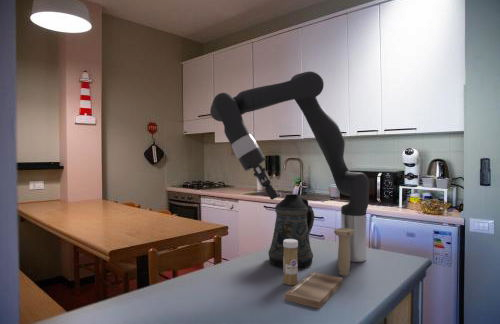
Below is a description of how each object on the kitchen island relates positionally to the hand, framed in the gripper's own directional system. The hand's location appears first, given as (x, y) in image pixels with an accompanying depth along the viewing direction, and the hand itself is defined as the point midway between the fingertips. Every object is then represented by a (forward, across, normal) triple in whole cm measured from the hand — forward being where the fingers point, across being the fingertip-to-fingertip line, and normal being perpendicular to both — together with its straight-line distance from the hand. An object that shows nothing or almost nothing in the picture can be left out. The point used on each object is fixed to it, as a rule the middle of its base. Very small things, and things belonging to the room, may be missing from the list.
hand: (274, 198), depth 103 cm
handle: (+34, +13, -7) cm, 37 cm away
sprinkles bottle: (+26, +4, +9) cm, 28 cm away
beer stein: (+25, +26, +6) cm, 37 cm away
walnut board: (+29, -2, +3) cm, 30 cm away
